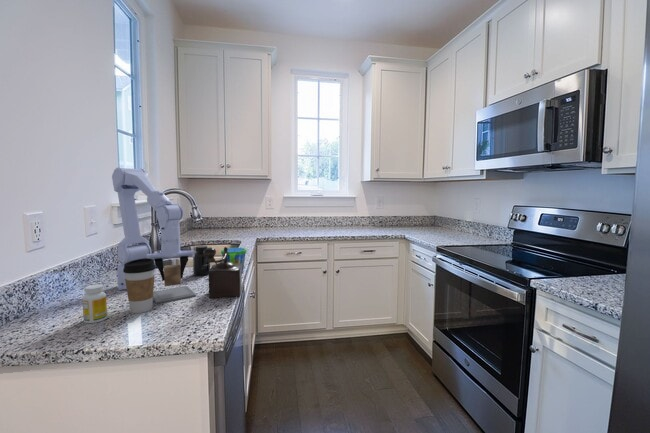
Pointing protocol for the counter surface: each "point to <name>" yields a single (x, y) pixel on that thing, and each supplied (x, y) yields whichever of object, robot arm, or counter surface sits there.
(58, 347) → the counter surface
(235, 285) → the manual coffee grinder
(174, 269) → the block
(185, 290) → the coaster
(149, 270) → the coffee cup
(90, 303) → the supplement bottle
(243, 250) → the snack cup
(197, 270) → the supplement bottle
